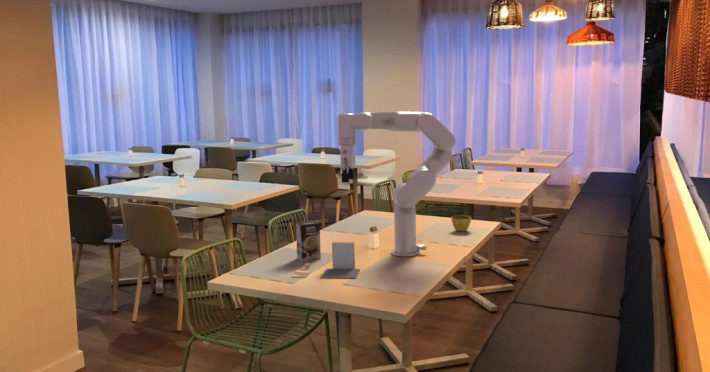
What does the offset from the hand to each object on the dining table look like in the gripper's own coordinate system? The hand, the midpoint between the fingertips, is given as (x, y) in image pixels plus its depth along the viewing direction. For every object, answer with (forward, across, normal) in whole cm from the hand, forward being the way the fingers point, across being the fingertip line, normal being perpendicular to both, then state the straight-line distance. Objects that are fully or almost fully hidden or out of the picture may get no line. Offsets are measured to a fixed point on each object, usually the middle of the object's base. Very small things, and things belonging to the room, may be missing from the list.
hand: (347, 180), depth 263 cm
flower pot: (+33, +51, -49) cm, 78 cm away
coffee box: (+34, -6, +17) cm, 39 cm away
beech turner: (+34, -26, +14) cm, 45 cm away
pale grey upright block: (+34, -20, -2) cm, 39 cm away
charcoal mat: (+34, -28, -2) cm, 44 cm away
